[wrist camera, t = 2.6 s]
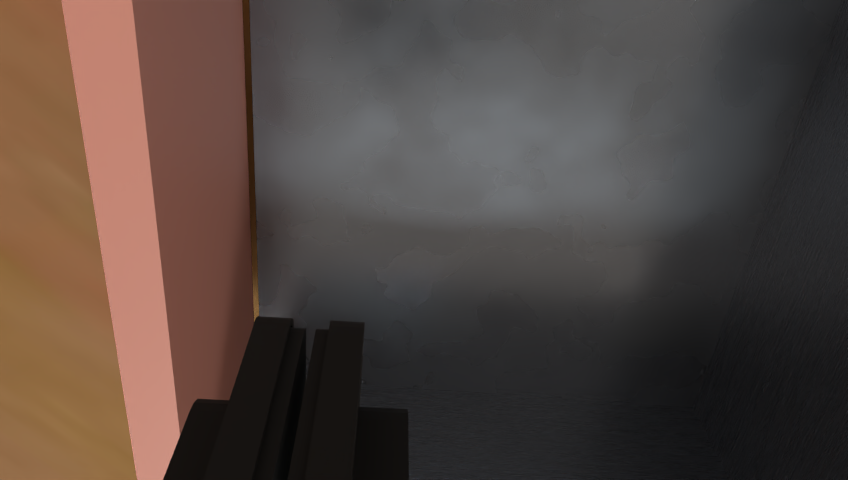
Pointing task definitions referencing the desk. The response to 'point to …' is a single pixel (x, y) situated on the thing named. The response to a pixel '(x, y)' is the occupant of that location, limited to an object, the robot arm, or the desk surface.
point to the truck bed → (568, 226)
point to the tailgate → (168, 200)
